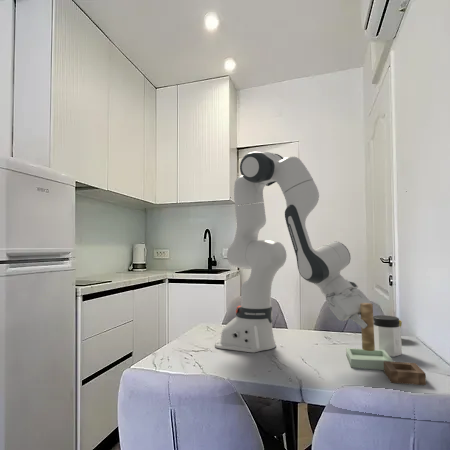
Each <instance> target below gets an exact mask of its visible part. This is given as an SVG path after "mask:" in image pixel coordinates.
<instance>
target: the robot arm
mask: <svg viewBox="0 0 450 450" xmlns="http://www.w3.org/2000/svg"><path fill="white" fill-rule="evenodd" d="M239 163H240V164H239V172H240V174H241V175H240V176H239V177H237V178H236V180H235V181H234V186H233V187H234V189H233V197H234V198H233V201H234V209H235V211H234V212H235V221H236V230H235V234H234V239H233V241H232V242H231V244H230V245H229V246H228V248H227V251H226V258H227V261H228V263H229V264H230V265H231V266H232V267H234V268H238V269H241V270H250V274H249V277H248V279H247V280H246V281H244V283H242V284H241V288H240V297H241V298H240V300H241V301H240V302H241V304H240V305H238V306H237V307H236V308H235V314H236V315H235V317H234V318H232V319H231V320H230V321H229V322H227V324H226V325H224V327H223V328H222V330H221V335H220V337H219V338H218V339H216V340H215V342H214V347H215V348H216V349H222V350H230V351H237V352H238V351H239V352H246V353H247V352H248V353H259V352H260V351H268V350H271V349H275V347H277V345H276V341H275V336H274V332H273V319H274V318H273V316H274V315H273V307H272V285H273V281H274V278H275V276H276V275H277V272H278V271H279V270H280V269H281V268H282V267H284V265H285V263H286V260H287V250H286V247H285V246H284V244H282V243H281V242H279V241H275V240H270V239H260V240H259V239H258V237H259V232H260V230H261V229H262V228H264V227H265V225H266V223H267V218H266V207H265V201H264V189H265V187H269V186H272V185H273V184H275V183H277V185H278V186H279V188H280V190H281V192H282V194H283V196H284V199H285V204H286V208H285V210H284V219H285V224H286V227H287V230H288V233H289V237H290V240H291V244H292V247H293V249H294V254H295V257H296V265H297V270H298V272H299V273H298V274H299V275H300V277H302V278H303V279H304V280H305V281H306V282H308V283H312V284H314V285H315V286H317V287H318V288H319V290H320V292H321V293H322V294H323V295H322V296H324V297H325V300H326V302H327V306H328V308H329V309H330V311H331V313H333V314H334V316H335V317H336V319H338V320H339V321H340V322H345V321H348V320H350V319H351V320H352V321H353V322H354V323H355V324H357V325H359V326H360V328H361V327H362V328H363V329H364V328H366V327H367V326H368V323H367V322H366V321H365V320H362V319H361V308H360V303H371V304H373V303H372V301H370V299H369V298H368V296H366V294H365V293H364V292H362V291H361V289H359V285H358V284H357V283H355V281H354V282H353V281H349V280H348V279H345V278H344V276H342V275H341V271H342V270H344V269H346V267H348V266H349V264H350V263H351V253H350V250H349V248H348V247H347V246H346V245H345V244H343V242H340V241H337V240H336V241H334V240H333V241H332V242H331V241H330V242H329V243H328V242H327V243H326V244H323V245H322V246H320V247H318V248H315V249H314V248H313V246H312V243H311V239H310V236H309V232H308V230H307V226H306V220H307V218H308V216H309V215H310V213H311V212H313V210H314V209H315V208H316V206H317V205H318V203H319V198H320V191H319V189H318V186H317V184H316V182H315V181H314V178H313V176H312V174H311V173H310V171H309V170H308V169H307V167H306V165H305V163H304V162H303V161H302V160H301V159H300V158H299V157H297V156H287V157H283V156H282V155H280V154H279V153H273V152H270V151H262V152H261V151H252V152H249V153H247V154H245V155H244V156H243V157H242V158H241V160H240V162H239ZM373 323H374V320H373Z"/></svg>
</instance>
